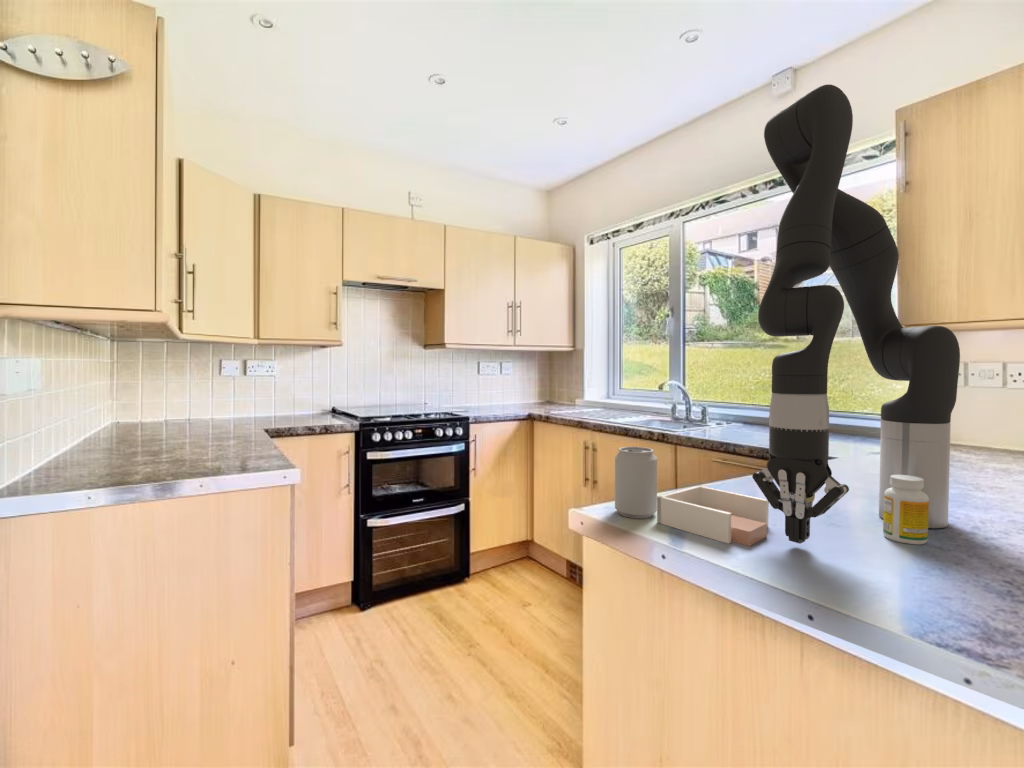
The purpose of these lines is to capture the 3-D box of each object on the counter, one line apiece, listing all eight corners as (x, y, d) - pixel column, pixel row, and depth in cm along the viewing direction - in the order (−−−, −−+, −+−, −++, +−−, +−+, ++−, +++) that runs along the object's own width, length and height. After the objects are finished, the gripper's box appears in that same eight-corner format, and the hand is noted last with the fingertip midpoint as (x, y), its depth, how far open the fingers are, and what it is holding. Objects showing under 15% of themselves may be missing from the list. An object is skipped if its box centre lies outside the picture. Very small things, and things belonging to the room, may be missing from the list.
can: (652, 508, 92) (653, 445, 92) (660, 520, 85) (661, 452, 84) (612, 507, 93) (612, 444, 93) (617, 519, 85) (617, 451, 85)
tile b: (729, 529, 81) (729, 514, 81) (766, 539, 76) (766, 523, 76) (710, 537, 77) (711, 521, 77) (749, 548, 73) (749, 531, 72)
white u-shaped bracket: (698, 509, 91) (698, 485, 91) (768, 526, 81) (768, 500, 81) (657, 522, 84) (657, 496, 83) (728, 543, 73) (728, 514, 73)
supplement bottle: (875, 536, 76) (876, 475, 76) (894, 531, 79) (895, 472, 78) (916, 547, 71) (917, 482, 71) (935, 541, 74) (936, 479, 73)
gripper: (861, 426, 68) (859, 549, 68) (766, 418, 79) (765, 524, 79) (838, 431, 64) (836, 561, 64) (741, 422, 74) (740, 534, 75)
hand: (796, 541), depth 72 cm, fingers closed
